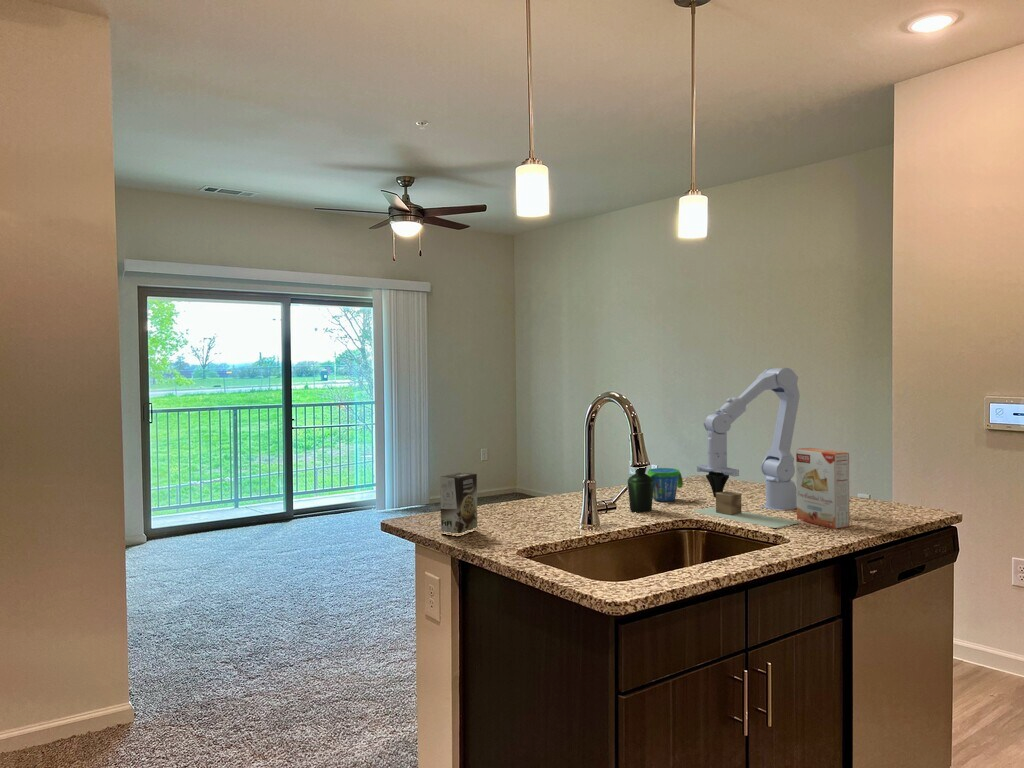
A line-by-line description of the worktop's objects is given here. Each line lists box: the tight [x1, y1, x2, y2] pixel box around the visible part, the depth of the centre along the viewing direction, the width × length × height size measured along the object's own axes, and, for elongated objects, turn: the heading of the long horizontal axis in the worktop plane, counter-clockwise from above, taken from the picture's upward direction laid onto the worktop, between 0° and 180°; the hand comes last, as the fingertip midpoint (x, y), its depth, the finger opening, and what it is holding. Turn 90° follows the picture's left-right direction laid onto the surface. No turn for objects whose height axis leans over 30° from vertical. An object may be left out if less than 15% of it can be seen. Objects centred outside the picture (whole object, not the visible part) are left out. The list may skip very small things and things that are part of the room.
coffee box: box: [440, 472, 478, 533], centre depth 200 cm, size 9×6×16 cm
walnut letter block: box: [715, 490, 742, 515], centre depth 220 cm, size 5×6×6 cm
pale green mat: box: [689, 506, 802, 529], centre depth 215 cm, size 12×30×1 cm, turn 35°
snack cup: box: [647, 467, 684, 502], centre depth 245 cm, size 16×10×10 cm
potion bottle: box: [627, 462, 654, 514], centre depth 226 cm, size 8×8×18 cm
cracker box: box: [795, 447, 850, 530], centre depth 205 cm, size 14×6×21 cm, turn 23°
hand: (717, 497), depth 223 cm, fingers closed
